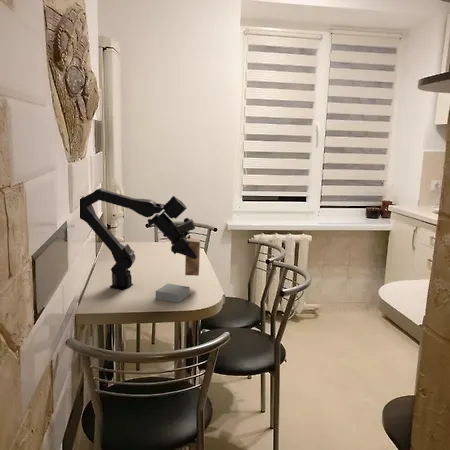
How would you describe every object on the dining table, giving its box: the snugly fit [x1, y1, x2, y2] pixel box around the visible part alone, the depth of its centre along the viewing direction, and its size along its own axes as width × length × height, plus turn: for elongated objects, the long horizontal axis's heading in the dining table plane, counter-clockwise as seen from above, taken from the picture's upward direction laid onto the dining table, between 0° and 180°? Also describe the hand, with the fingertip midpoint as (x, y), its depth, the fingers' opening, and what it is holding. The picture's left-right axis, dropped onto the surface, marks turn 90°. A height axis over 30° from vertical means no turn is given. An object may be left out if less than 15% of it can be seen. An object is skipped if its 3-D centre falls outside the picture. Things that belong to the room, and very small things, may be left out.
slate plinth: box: [155, 283, 191, 304], centre depth 161 cm, size 9×9×3 cm
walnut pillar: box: [184, 238, 201, 277], centre depth 169 cm, size 5×5×13 cm
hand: (196, 256), depth 169 cm, fingers closed on walnut pillar, 5 cm apart
